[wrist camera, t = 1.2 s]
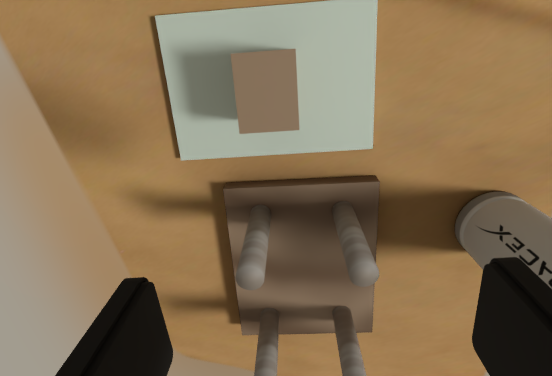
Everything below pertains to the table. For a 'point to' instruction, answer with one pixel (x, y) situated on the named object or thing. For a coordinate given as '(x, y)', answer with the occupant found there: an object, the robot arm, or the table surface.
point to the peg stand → (304, 261)
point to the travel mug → (506, 232)
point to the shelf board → (317, 76)
